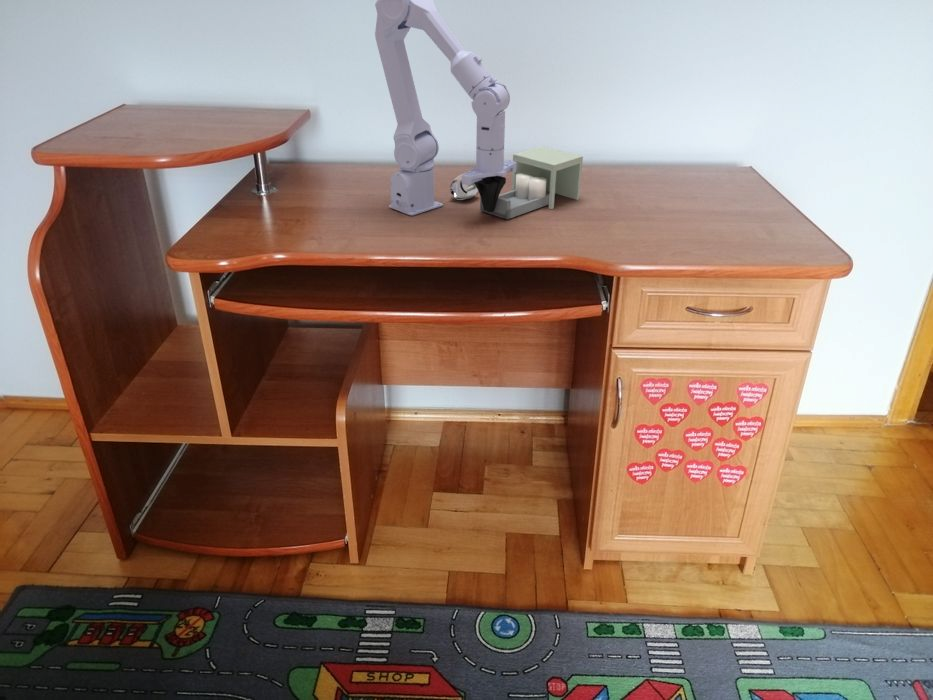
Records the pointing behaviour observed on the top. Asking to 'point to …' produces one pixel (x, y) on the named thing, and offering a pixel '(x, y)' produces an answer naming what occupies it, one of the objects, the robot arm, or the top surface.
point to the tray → (514, 205)
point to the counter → (551, 170)
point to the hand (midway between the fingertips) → (489, 210)
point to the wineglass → (462, 189)
